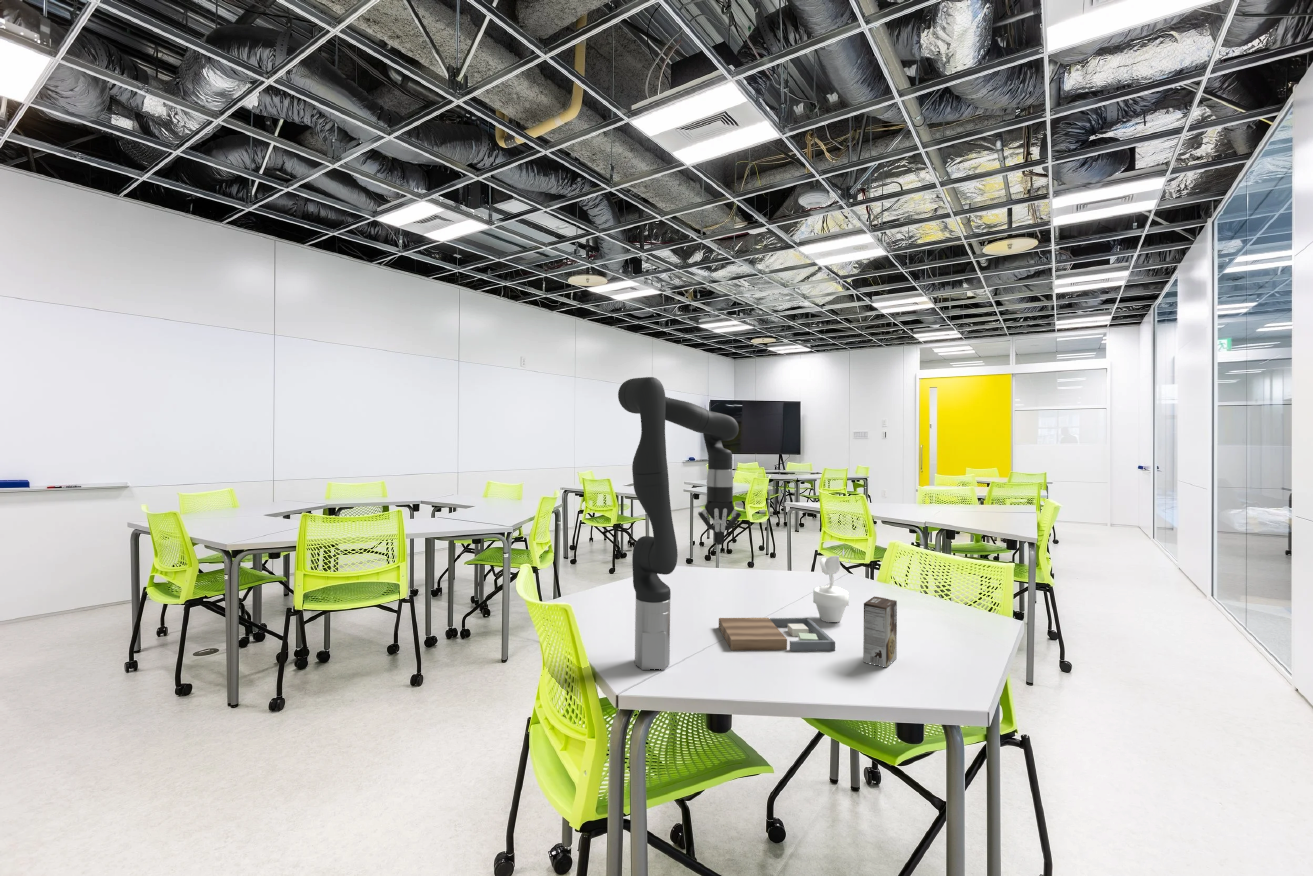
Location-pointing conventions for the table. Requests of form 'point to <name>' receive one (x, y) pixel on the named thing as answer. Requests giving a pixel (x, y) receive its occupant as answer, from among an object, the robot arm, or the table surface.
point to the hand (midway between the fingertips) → (719, 544)
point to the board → (752, 634)
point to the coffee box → (880, 631)
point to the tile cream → (797, 629)
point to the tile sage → (807, 637)
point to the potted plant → (831, 592)
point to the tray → (821, 645)
